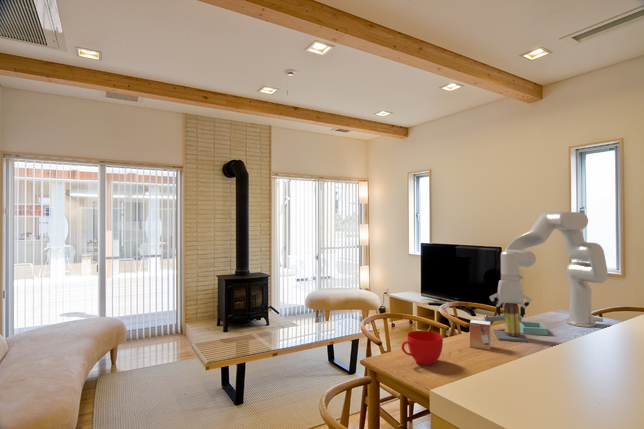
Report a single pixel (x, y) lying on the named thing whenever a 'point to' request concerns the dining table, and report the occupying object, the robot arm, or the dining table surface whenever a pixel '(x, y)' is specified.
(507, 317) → the sauce bottle
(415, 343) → the ceramic cup
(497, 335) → the pad
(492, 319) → the bar
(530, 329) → the teal square frame
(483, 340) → the small box
